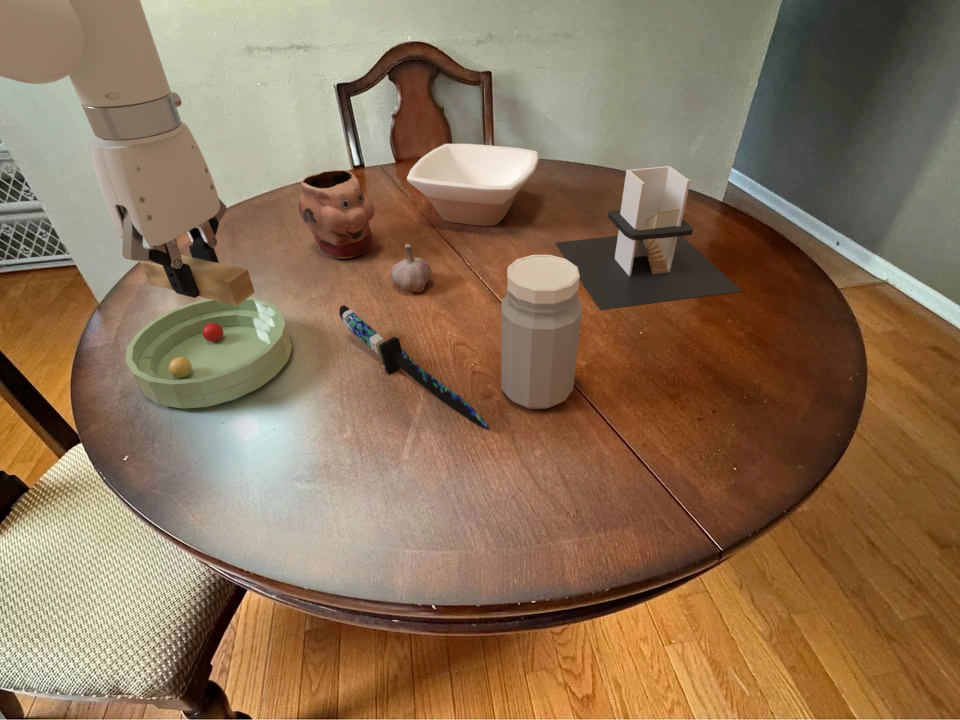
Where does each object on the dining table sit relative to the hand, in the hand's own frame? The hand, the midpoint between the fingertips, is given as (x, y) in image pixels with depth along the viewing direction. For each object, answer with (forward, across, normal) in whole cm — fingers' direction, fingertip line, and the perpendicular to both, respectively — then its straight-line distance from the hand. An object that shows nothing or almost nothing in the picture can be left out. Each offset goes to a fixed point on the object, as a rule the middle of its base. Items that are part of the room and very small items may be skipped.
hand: (200, 285), depth 64 cm
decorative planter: (+18, -42, -12) cm, 47 cm away
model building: (+18, -55, +43) cm, 72 cm away
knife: (+18, -11, +19) cm, 28 cm away
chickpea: (+17, 0, -10) cm, 19 cm away
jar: (+18, -16, +36) cm, 43 cm away
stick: (0, 0, 0) cm, 0 cm away
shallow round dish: (+17, -4, -8) cm, 20 cm away
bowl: (+18, -66, +6) cm, 68 cm away
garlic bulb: (+18, -34, +7) cm, 39 cm away
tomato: (+17, -8, -12) cm, 22 cm away
